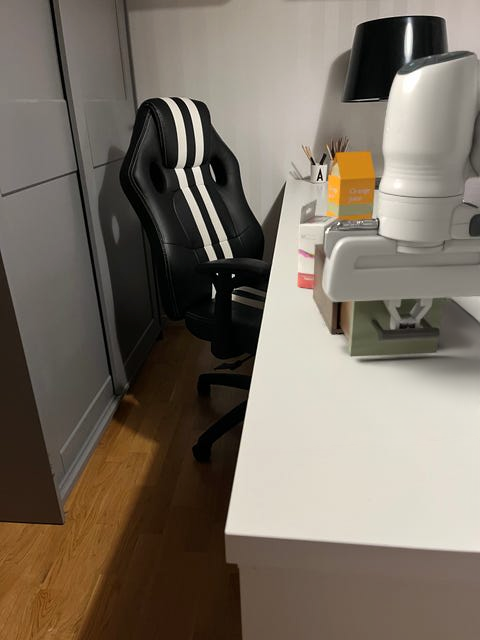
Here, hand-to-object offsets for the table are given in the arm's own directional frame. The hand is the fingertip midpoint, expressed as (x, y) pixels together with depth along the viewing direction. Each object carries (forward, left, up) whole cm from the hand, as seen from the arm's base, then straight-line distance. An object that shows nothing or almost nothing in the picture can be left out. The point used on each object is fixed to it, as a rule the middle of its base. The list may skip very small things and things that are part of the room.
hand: (403, 330), depth 61 cm
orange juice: (-10, -67, -6) cm, 67 cm away
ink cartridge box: (+4, -34, -6) cm, 35 cm away
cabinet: (0, -19, -6) cm, 19 cm away
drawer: (0, -7, -5) cm, 8 cm away
